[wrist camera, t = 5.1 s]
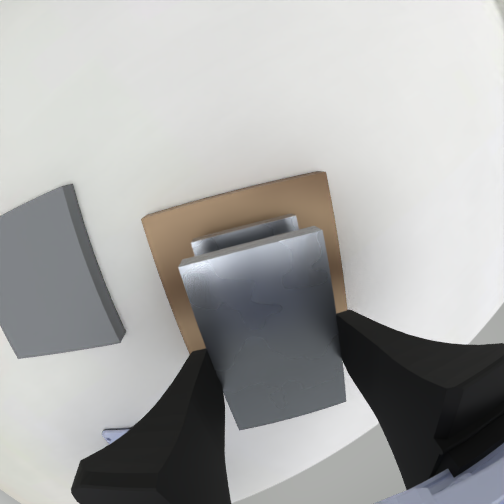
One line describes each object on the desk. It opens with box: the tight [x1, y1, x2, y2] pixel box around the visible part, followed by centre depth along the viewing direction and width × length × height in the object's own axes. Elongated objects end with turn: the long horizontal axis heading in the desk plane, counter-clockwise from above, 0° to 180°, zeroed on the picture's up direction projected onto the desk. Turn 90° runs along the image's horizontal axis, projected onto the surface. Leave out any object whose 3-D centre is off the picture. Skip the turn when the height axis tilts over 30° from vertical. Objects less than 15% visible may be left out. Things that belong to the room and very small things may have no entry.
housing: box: [178, 213, 346, 430], centre depth 13 cm, size 8×5×5 cm, turn 13°
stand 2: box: [141, 171, 347, 354], centre depth 19 cm, size 11×11×2 cm
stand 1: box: [0, 184, 126, 359], centre depth 18 cm, size 11×11×2 cm
